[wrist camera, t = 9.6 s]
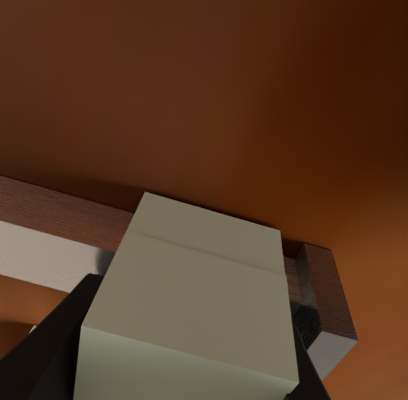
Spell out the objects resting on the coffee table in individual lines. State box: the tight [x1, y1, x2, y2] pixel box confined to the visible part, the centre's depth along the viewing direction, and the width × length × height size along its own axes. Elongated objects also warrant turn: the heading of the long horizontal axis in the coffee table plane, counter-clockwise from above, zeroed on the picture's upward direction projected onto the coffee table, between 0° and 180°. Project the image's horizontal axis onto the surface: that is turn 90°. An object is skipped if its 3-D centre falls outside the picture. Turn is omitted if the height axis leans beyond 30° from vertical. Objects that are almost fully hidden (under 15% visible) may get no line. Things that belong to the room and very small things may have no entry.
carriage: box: [73, 192, 299, 400], centre depth 10 cm, size 5×5×5 cm
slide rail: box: [0, 175, 358, 381], centre depth 11 cm, size 16×4×4 cm, turn 74°
